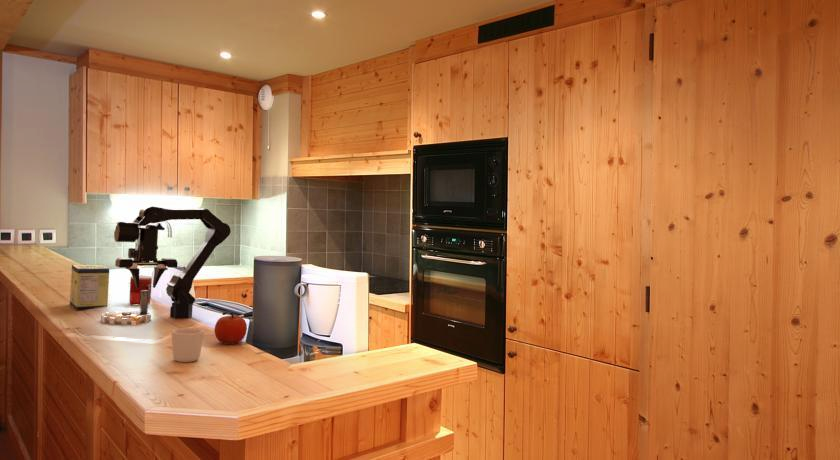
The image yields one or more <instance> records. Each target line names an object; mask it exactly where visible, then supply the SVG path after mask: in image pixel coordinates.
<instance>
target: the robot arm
mask: <svg viewBox="0 0 840 460" xmlns="http://www.w3.org/2000/svg"><path fill="white" fill-rule="evenodd" d="M171 220H175V221H177V220H200V222H202V224H203V226H205V228H206V229H207V231H206V234H205V238H204V241H203V242H202V244H201V245H200V246H199V248H198V250H197V251H196V252H195V254H194V255H193V256H192V258H191V260H190V261H189V262H188V264H187V266H185V268H184V269H183V271H182V272H181V273H180V274H179V275H176V274H173V275H172V277H171V279H170V280H169V281H168V282H167V283H166V285H167V286H166V289H165V290H166V294H167V296H168V297H170V300H171V306H170V309H169V311H170V312H169V317H170V318H173V319H183V320H184V319H187V320H188V319H191V318H192V317H193V305H194V303H195V300H196V298H195V297H194V296H193V295H192V294H191V290H192V287H193V283H194V279H195V278H196V276H197V275H198V273H199V272H200V270H201V269H202V268H203V266H204V265H205V264H206V262H207V261H208V259H209V257H210V256H211V255H212V253H213V252H214V250H215V249H216V248H217V247H218V246H219V245H220V244H222V243H223V242H224V241H226V239H228V237H230V234H231V232H232V231H231V226H230V225H229V224H228V223H226V222H223V221H222V220H221V219H220V218H218V217H217V216H216V215H214V213H212V211H210V210H209V209H208V208H199V209H198V208H197V209H196V208H189V209H188V208H187V209H186V208H185V209H183V208H179V209H178V208H177V209H176V208H175V209H173V208H172V209H171V208H163V207H157V206H150V205H145V206H143V207H141V209H140V210H139V212H138V215H137V217H135V219H134V220H133V221H132V222H126V221H125V222H124V221H117V222H116V225H115V229H114V233H113V234H114V235H113V238H114V242H116V243H135V242H136V241H138V244H137V249H136V248H133V247H131V248H128V251H127V254H128V255H127V257H118V258H116V259H115V262H114V263H115V265H114V267H117V268H121V269H125V270H129V272H130V273H131V276H133V279H134V282H135V285H136V288H138V287H139V276H140V268H138V266H154V267H153V271H154V273H153V278H152V289H153V288H156V287H157V285H158V283H159V280H160V279H161V277H162V276H163V274H164V272H165V271H168V269H169V268H178V260H177V259H176V258H171V257H170V258H169V257H166V258H165V257H163V258H161V260H159V259H158V257H157V256H158V249H159V246H158V242H159V241H158V239H159V237H158V236H159V231H165V227H164V226H163V225H162V222H166V221H171Z"/></svg>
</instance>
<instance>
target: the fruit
mask: <svg viewBox="0 0 840 460" xmlns="http://www.w3.org/2000/svg"><path fill="white" fill-rule="evenodd" d="M227 314H228V315H227ZM225 315H226V316H225ZM247 326H248V324H247V322H246V320H245V319H244V318H243V316H239V315H235V312H231V311H230V310H227V311H223V312H222V317H219V318H218V319H217V321H216V323H215V325H214V336H215V337H216V339H217V341H219V342H220V343H221V342H222V343H221V344H224V343H227V344H226V345H233V344H232V343H236V344H239V343H240V342H241V341H242V340H244V338H245V336H246V334H247V330H248V327H247Z"/></svg>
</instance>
